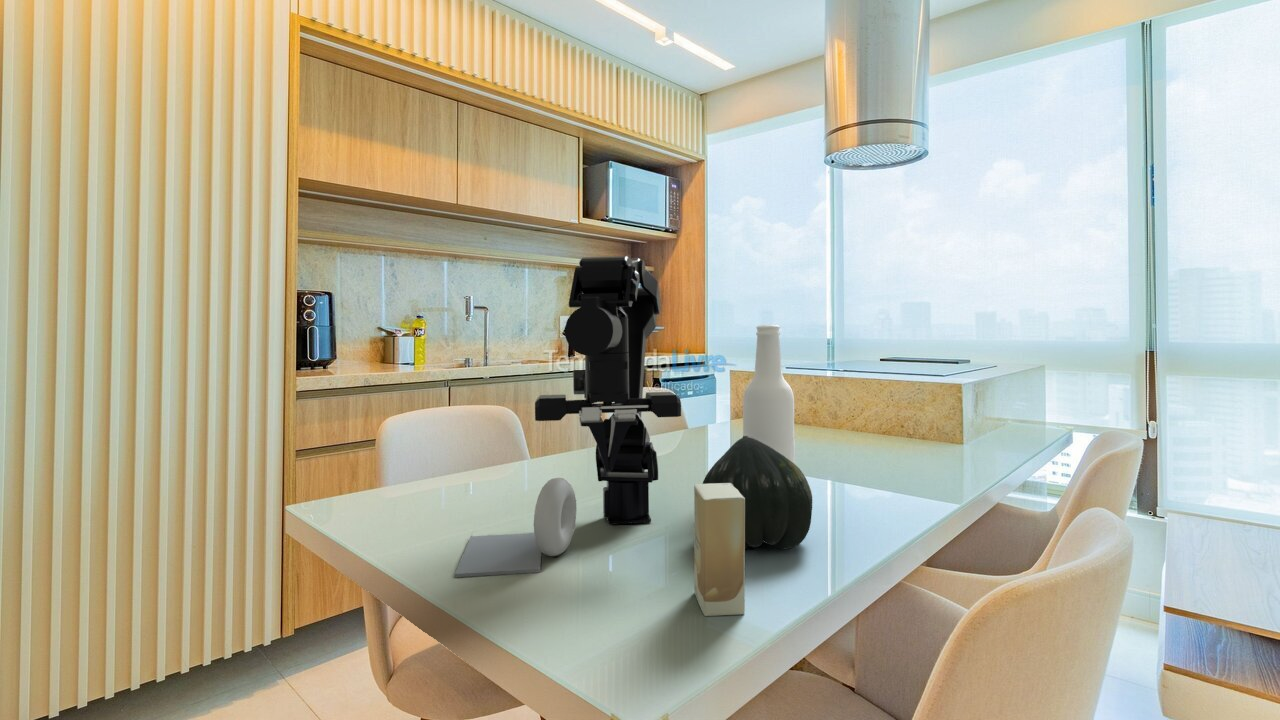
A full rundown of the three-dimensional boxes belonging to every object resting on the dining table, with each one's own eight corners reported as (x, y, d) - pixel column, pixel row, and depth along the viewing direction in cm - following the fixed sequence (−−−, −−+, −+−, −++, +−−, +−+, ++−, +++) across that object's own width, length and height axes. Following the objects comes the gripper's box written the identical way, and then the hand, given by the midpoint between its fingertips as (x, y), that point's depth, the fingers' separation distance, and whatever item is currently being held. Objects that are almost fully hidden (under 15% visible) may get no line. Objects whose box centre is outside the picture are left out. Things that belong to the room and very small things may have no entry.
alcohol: (794, 490, 112) (793, 325, 111) (794, 503, 103) (794, 324, 102) (744, 488, 114) (744, 325, 113) (741, 501, 105) (740, 325, 104)
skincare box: (693, 592, 68) (692, 482, 68) (731, 590, 69) (731, 481, 68) (704, 618, 62) (703, 497, 61) (746, 616, 62) (745, 496, 62)
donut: (556, 569, 76) (555, 488, 75) (529, 567, 76) (528, 487, 76) (580, 542, 85) (579, 470, 85) (556, 540, 86) (555, 469, 86)
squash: (810, 529, 73) (808, 422, 82) (686, 524, 77) (697, 423, 86) (815, 574, 83) (813, 475, 92) (705, 568, 87) (714, 474, 97)
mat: (542, 535, 88) (542, 532, 88) (540, 572, 75) (539, 568, 75) (471, 539, 87) (470, 536, 87) (454, 577, 73) (454, 574, 73)
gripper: (666, 350, 90) (667, 456, 91) (536, 352, 88) (538, 461, 88) (681, 352, 79) (682, 473, 80) (533, 355, 77) (536, 479, 77)
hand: (608, 471), depth 81 cm, fingers closed
